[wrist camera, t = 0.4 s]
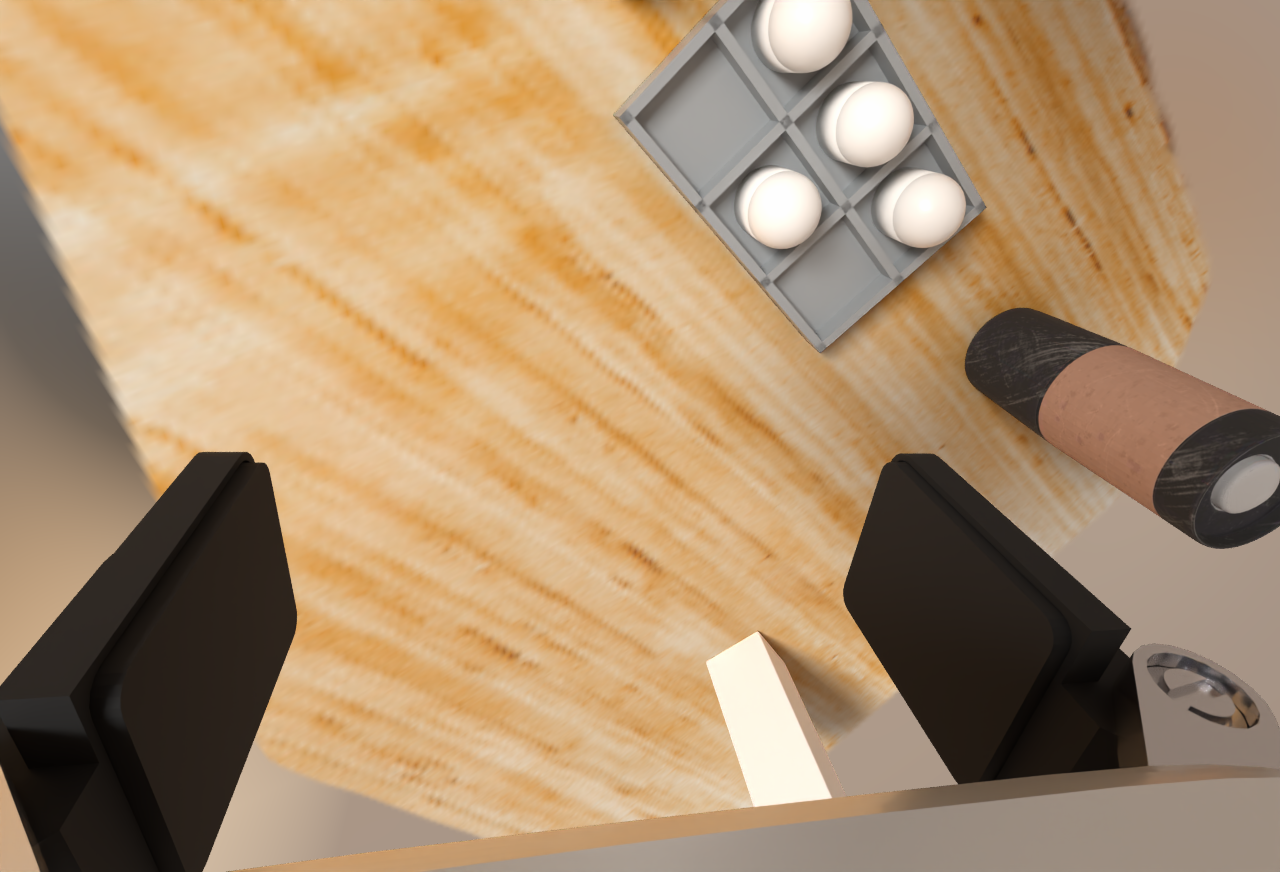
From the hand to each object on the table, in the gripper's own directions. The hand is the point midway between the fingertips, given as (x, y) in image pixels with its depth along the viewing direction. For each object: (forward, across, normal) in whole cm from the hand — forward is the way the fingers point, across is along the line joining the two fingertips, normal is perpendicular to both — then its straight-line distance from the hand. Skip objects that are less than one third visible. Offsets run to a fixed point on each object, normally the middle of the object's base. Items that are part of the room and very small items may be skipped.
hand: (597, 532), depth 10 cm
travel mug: (+34, -37, +9) cm, 51 cm away
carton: (+34, -17, -3) cm, 38 cm away
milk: (+34, -22, +42) cm, 58 cm away
